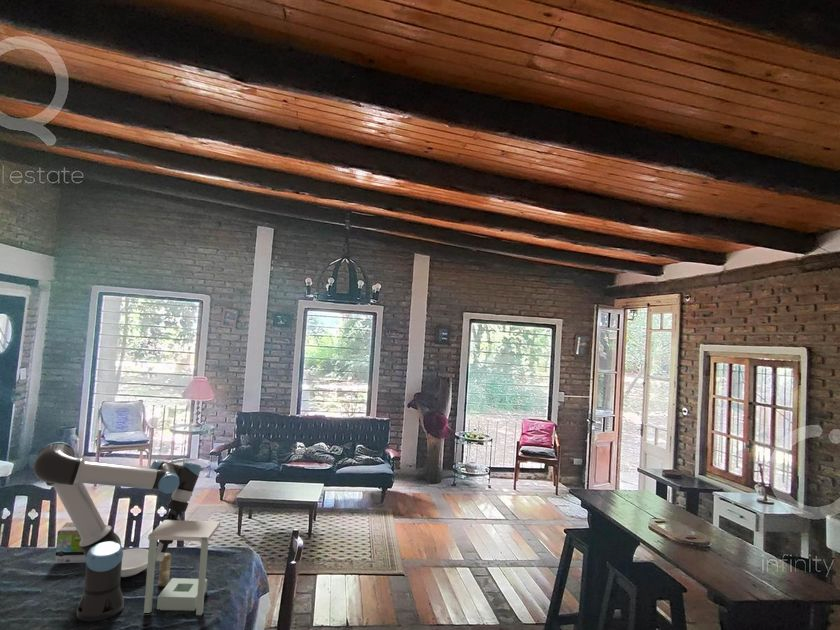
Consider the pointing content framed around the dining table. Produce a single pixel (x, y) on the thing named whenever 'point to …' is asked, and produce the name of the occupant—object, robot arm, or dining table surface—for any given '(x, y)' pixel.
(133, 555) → the bowl
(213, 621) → the dining table surface
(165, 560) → the dowel
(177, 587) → the socket
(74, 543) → the tea box
